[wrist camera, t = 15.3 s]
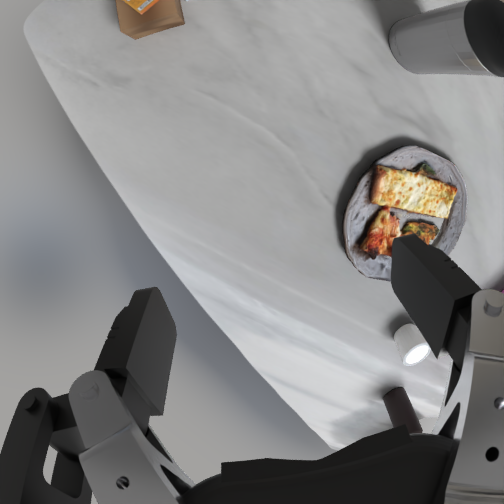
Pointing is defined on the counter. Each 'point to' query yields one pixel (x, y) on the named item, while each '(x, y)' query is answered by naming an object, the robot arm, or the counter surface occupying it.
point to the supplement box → (140, 4)
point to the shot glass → (411, 344)
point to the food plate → (402, 207)
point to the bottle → (402, 410)
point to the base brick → (149, 18)
